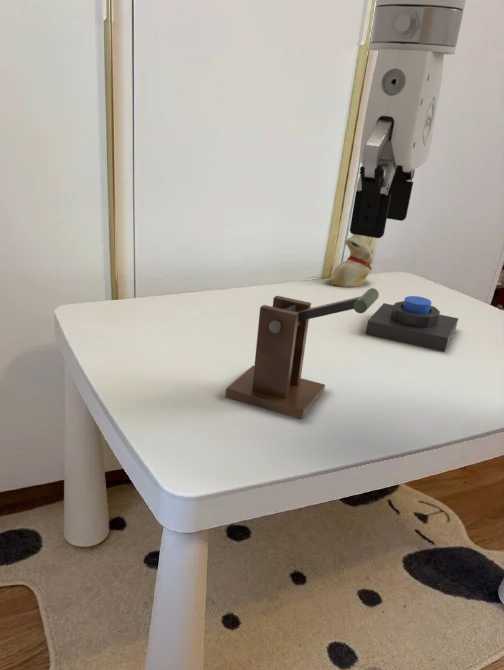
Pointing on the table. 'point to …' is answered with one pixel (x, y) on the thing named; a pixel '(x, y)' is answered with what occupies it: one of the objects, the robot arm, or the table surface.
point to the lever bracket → (279, 363)
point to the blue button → (417, 305)
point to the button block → (412, 326)
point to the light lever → (338, 306)
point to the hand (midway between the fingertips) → (378, 226)
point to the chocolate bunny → (354, 264)
